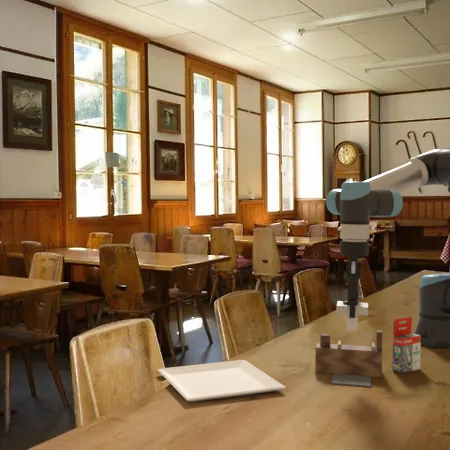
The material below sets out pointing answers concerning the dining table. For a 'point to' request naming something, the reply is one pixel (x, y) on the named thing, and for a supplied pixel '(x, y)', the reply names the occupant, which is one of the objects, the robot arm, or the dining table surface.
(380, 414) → the dining table surface
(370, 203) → the robot arm
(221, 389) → the plate
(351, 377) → the rubber mat
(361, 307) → the lever cap
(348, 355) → the body
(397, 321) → the ink box
